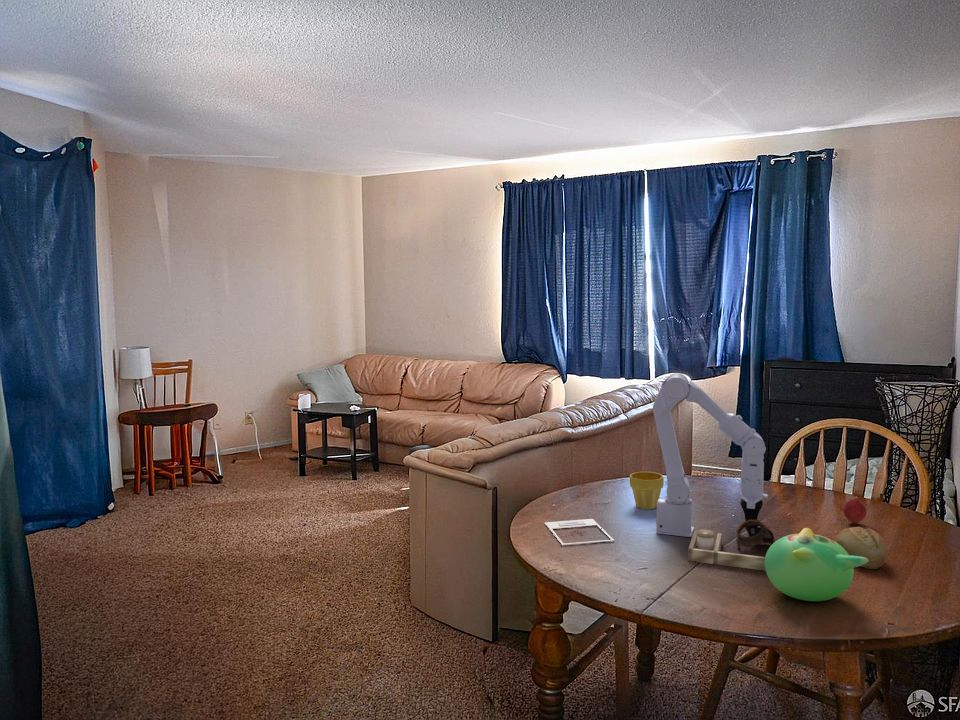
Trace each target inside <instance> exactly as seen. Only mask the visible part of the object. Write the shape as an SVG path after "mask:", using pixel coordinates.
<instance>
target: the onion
mask: <svg viewBox="0 0 960 720" xmlns="http://www.w3.org/2000/svg"><path fill="white" fill-rule="evenodd" d="M842 511H843V515H844V517H845V518H846V519H847V520H848V521H849V522H851V523H852V524H853V525H857V524H858V523H860V522H862V521H863V520H864V519H865V518H866V517H867V508H866V506H865V504H863V502H862V501H860V500H859V497H858V496H854V497H853V498H851V499H850V500H848V501H846V502H845V504H844V506H843V508H842Z"/></svg>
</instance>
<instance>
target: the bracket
mask: <svg viewBox="0 0 960 720" xmlns="http://www.w3.org/2000/svg"><path fill="white" fill-rule="evenodd" d="M722 537H723V533H720V532H718V533H717V536H716V540H715V544H714V547H713V551H711V550H702V549H697V547H696V546H697V530H696V529H695V530H693V533H692V536H691V540H690V543H689V546H688V549H687V550H688V552H687V553H688V554H687V555H688V557H687V558H688V559H687V560H689V561H688V562H694V561H696V562H695V563H701V564H702V563H703V564H704V563H705V564H710V565H718V566H727V567H734V568H743V569H751V570H758V571H765V572H766V569H765V556H759V555H752V554H751V555H750V554H742V553H735V552H727V551H726V552H725V551H721V549H722V540H723V539H722Z"/></svg>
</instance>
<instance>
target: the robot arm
mask: <svg viewBox="0 0 960 720" xmlns="http://www.w3.org/2000/svg"><path fill="white" fill-rule="evenodd" d="M684 399H685V402H690V403H696V404H697V405H698V406H700V407H701V408H702V409H704V411H705V412H706V413H708V414H709V415H710V416H712V417H713V418H714V419H715V420H716V421H717V422H718V429H719V430H720V431H721V432H723V434H724V435H725V436H726V437H728V439H730V440H731V441H732V442H733V443H734V444H735V445H737V446H740V448H741V450H742V452H741V453H742V454H741V456H742V457H741V461H740V492H739V497H740V498H741V499H740V502H739V503H740V507H741V509H742V511H743V514H744V519H745V520H744V521H747V520H748V519H750V518H751V519H753V520H758V517H759V513H760V512H761V510H762V508H763V506H764V505H763V499H768V498H769V496H768V494H767V493H764V475H765V474H764V472H765V469H764V468H765V462H764V458H765V456H764V455H765V453H766V451H767V447H766V444H765V441H764V439H763V438H762V436H761V435H760V433H758V432H756V431H757V430H756V429H755V428H752V427H750V426H749V425H748V424H747V423H745V421H743V417H742V416H741V415H740V414H737V415H736V413H734V412H733V413H732V412H731V413H729V412H726V411H725V409H724V408H722V407H721V406H720V405H719V404H718V403H717V402H715V400H714V399H713V398H712V397H710V395H709V394H707V392H706V391H704V389H703V388H701V387H700V386H699V385H697V384H696V383H695V382H693V381H692V380H691V379H688V377H686V375H684V374H682V373H678V372H677V373H676V372H675V373H672V374H670V375H668V376H667V377H666V379H665V380H664V381H663V382H662V383H661V386H660V389H659V391H658V392H657V394H656V397H655V399H654V401H653V404H652V411H653V412H652V413H653V416H654V422H655V425H656V427H655V428H656V430H657V435H658V440H659V444H660V447H661V453H662V458H663V462H664V467H665V468H664V469H665V472H666V480H667V482H666V485H667V487H666V495H665V497H664V498H659V499H658V502H657V508H656V522H655V523H656V526H655V528H656V531H655V533H656V534H658V535H659V534H660V535H668V536H677V537H686V538H692V536H693V533H694V529H695V527H694V526H692V515H693V511H692V507H693V504H692V503H693V499H692V498H691V489H690V488H691V481H690V478H689V477H688V476H687V475H686V473H685V469H684V466H683V462H682V459H681V453H680V449H679V445H678V444H679V443H678V439H677V435H676V434H677V433H676V431H675V426H674V421H673V417H672V410H673V409H674V408H675V406H676V405H677V404H678V403H679V402H681V401H682V400H684Z"/></svg>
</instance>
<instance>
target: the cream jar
mask: <svg viewBox="0 0 960 720" xmlns="http://www.w3.org/2000/svg"><path fill="white" fill-rule="evenodd" d="M696 531H697V547H696V549H702V550H711V551H714V542H715V541H714V537H715V532H714V531H712V530H710V529H698V530H696Z"/></svg>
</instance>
